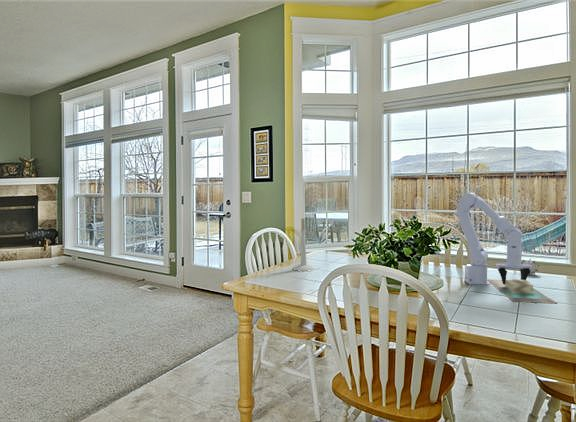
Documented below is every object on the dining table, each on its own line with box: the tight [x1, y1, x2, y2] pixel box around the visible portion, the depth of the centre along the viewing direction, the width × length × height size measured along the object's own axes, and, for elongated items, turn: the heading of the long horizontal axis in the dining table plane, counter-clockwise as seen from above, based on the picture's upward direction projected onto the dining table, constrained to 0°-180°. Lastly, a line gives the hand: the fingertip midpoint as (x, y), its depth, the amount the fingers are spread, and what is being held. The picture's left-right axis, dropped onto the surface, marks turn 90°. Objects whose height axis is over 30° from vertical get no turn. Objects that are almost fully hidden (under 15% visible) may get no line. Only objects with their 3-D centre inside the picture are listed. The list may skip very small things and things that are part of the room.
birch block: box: [505, 278, 534, 294], centre depth 161 cm, size 8×8×4 cm
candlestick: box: [292, 218, 316, 272], centre depth 210 cm, size 13×13×30 cm
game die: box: [521, 258, 540, 275], centre depth 189 cm, size 9×8×10 cm
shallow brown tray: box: [487, 278, 558, 304], centre depth 162 cm, size 16×34×1 cm, turn 168°
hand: (513, 284), depth 167 cm, fingers open, 7 cm apart
